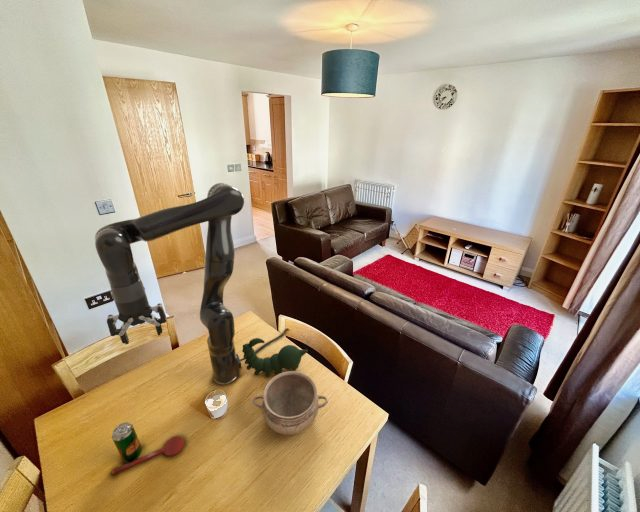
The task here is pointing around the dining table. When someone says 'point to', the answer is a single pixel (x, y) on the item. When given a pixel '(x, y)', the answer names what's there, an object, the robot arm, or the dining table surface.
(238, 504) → the dining table surface
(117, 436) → the soda can
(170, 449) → the spoon
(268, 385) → the cooking pot
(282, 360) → the toy figurine
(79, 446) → the dining table surface
